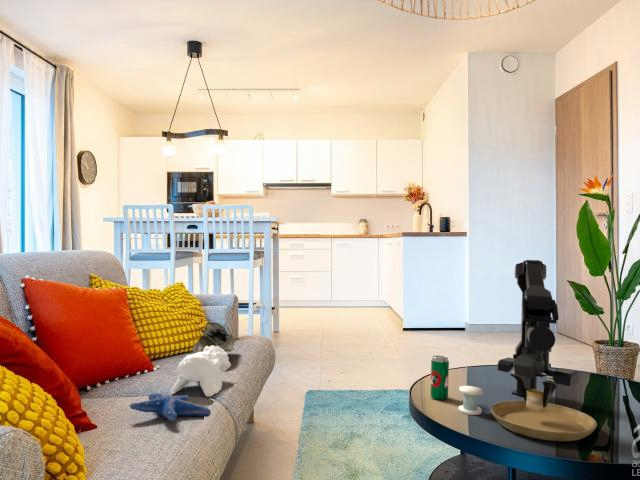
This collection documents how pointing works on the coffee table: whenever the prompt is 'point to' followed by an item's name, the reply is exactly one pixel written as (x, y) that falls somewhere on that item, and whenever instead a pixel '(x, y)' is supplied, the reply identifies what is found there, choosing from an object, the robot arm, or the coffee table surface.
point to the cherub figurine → (203, 370)
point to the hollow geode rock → (214, 338)
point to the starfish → (171, 406)
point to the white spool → (470, 400)
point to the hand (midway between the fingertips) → (535, 404)
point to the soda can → (439, 377)
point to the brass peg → (534, 400)
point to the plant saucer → (544, 421)
